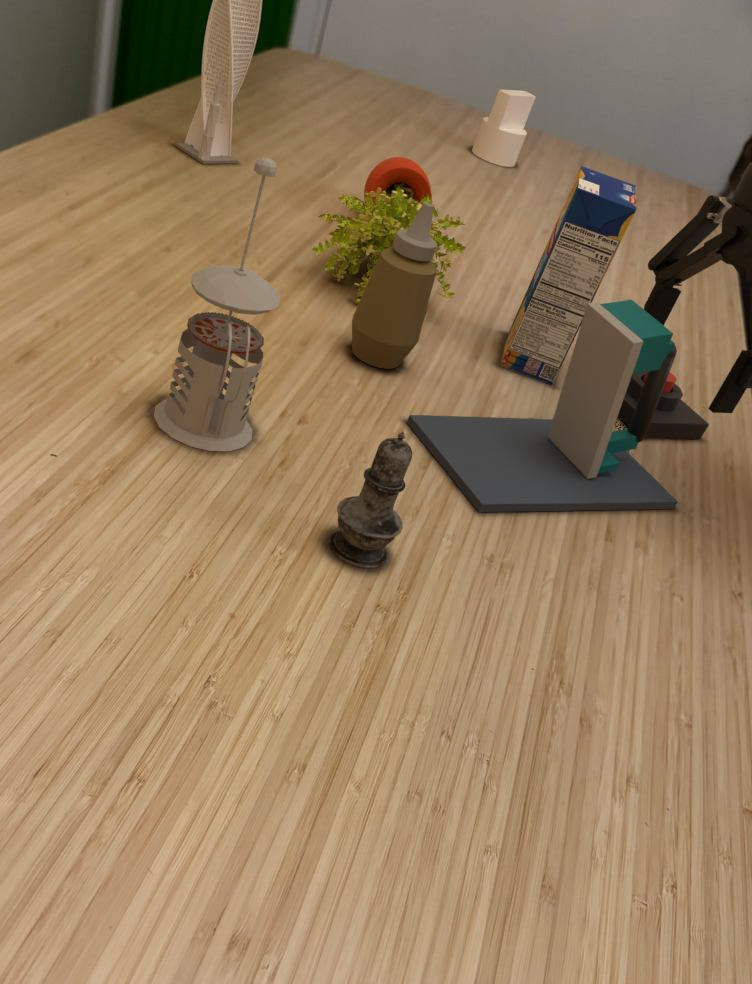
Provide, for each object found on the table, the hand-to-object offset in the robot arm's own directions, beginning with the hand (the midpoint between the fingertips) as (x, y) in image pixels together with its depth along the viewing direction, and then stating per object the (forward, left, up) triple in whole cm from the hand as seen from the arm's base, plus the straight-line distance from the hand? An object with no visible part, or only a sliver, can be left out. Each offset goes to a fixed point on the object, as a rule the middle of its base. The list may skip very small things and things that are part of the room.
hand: (678, 377), depth 110 cm
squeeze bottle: (+22, +22, -12) cm, 34 cm away
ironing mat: (0, +12, -12) cm, 17 cm away
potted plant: (+52, +8, -12) cm, 54 cm away
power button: (+12, -12, -8) cm, 19 cm away
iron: (0, +11, -3) cm, 11 cm away
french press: (+6, +49, -12) cm, 51 cm away
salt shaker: (-13, +41, -12) cm, 45 cm away
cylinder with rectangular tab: (+107, -47, -12) cm, 118 cm away
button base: (+12, -12, -12) cm, 20 cm away
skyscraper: (+85, +22, -12) cm, 89 cm away
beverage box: (+24, -2, -12) cm, 27 cm away
